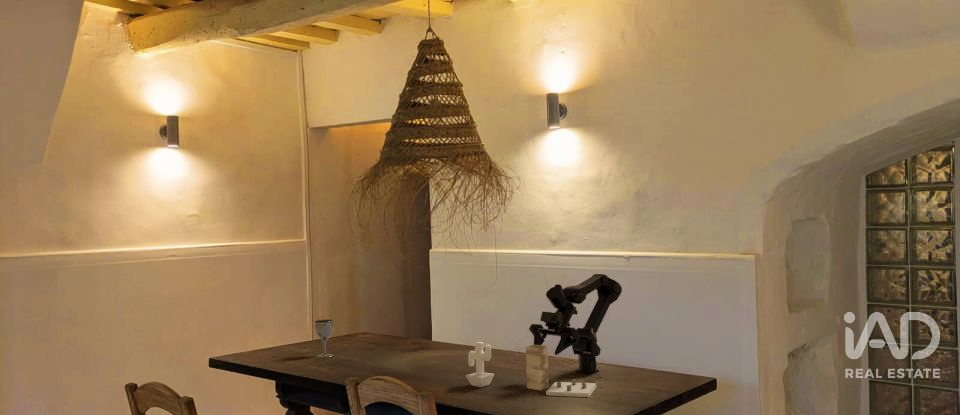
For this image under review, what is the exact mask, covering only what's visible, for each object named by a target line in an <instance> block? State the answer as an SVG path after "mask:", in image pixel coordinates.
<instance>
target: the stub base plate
mask: <svg viewBox="0 0 960 415" xmlns="http://www.w3.org/2000/svg"><path fill="white" fill-rule="evenodd" d="M596 388H597V383H595V382H594V383H593V382H592V383H591V382H577V379H575V378H574V379H571V382H566V381H555V382H554V383H553V384H551V386H549V387H548V389H547V390H546V391H545V394H546V396H555V397H578V398H590V396H592V393H593V392H594V391H595V390H596Z"/></svg>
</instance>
